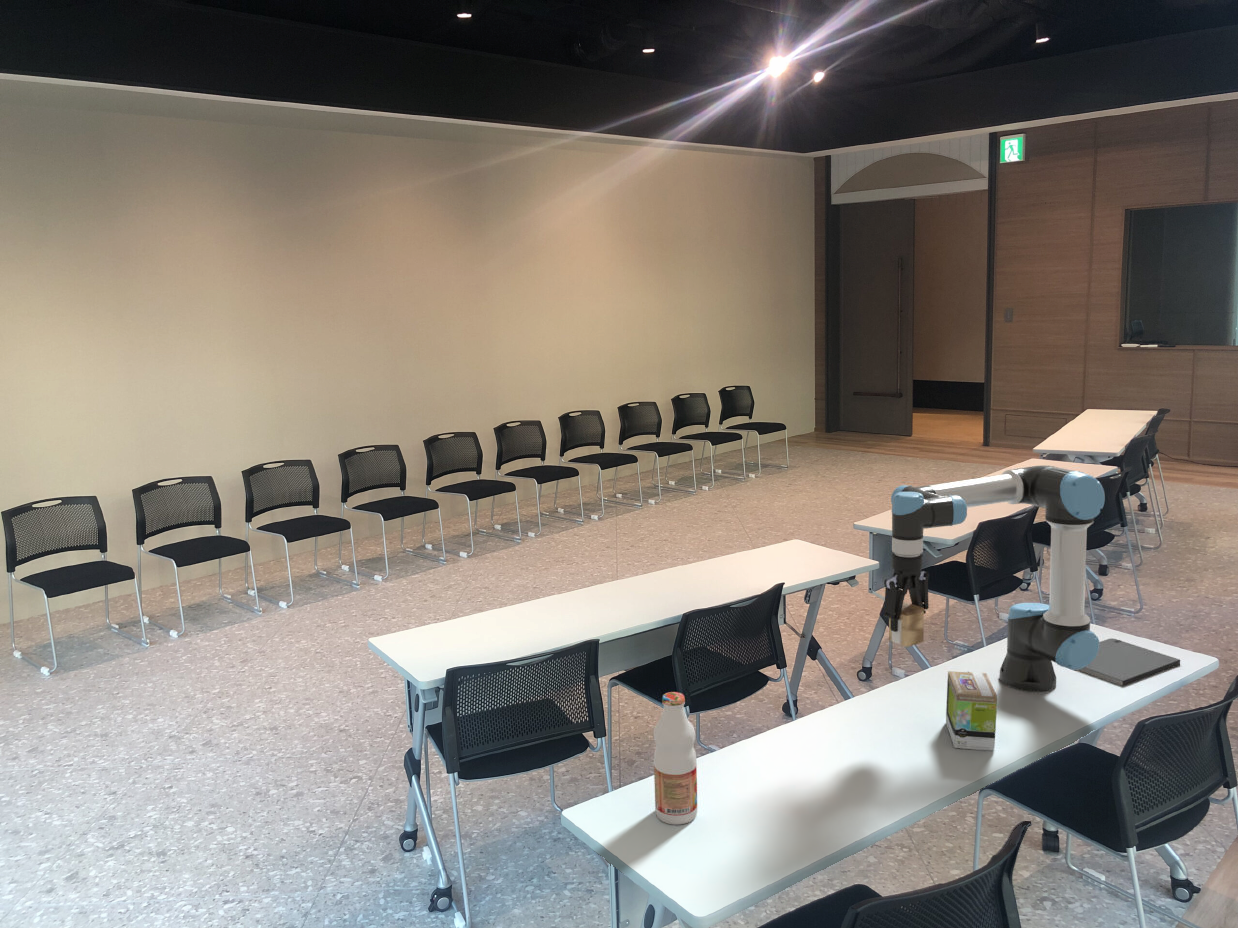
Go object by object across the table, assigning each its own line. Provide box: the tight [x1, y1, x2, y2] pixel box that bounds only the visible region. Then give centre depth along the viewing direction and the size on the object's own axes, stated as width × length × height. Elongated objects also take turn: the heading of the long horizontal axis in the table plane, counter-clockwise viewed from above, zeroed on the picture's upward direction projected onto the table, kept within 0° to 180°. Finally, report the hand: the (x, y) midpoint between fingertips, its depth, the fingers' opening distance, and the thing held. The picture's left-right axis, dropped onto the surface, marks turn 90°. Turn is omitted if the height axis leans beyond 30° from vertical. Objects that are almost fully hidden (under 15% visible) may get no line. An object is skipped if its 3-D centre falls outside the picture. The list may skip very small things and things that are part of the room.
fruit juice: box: [653, 691, 698, 826], centre depth 202 cm, size 9×9×28 cm
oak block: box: [888, 601, 925, 648], centre depth 236 cm, size 6×6×9 cm
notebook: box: [1077, 637, 1181, 687], centre depth 277 cm, size 22×2×28 cm
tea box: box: [945, 670, 998, 751], centre depth 234 cm, size 15×10×15 cm, turn 168°
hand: (906, 639), depth 236 cm, fingers closed on oak block, 6 cm apart
